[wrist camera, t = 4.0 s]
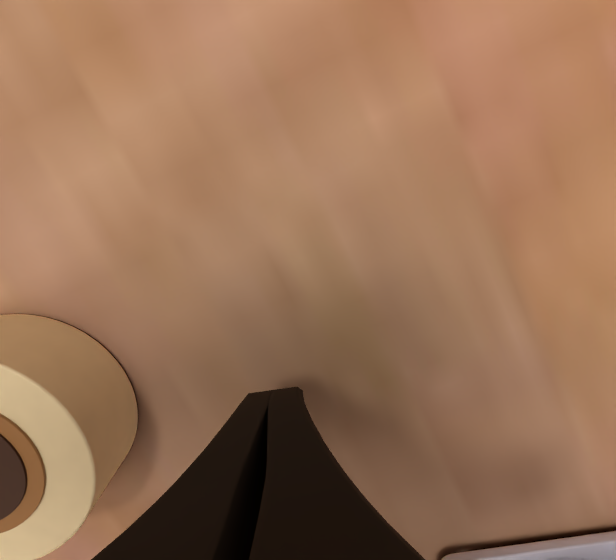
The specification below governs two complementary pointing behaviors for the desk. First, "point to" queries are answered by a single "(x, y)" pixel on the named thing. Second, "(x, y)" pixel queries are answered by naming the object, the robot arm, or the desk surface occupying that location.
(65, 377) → the tape roll
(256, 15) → the desk surface
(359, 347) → the desk surface
